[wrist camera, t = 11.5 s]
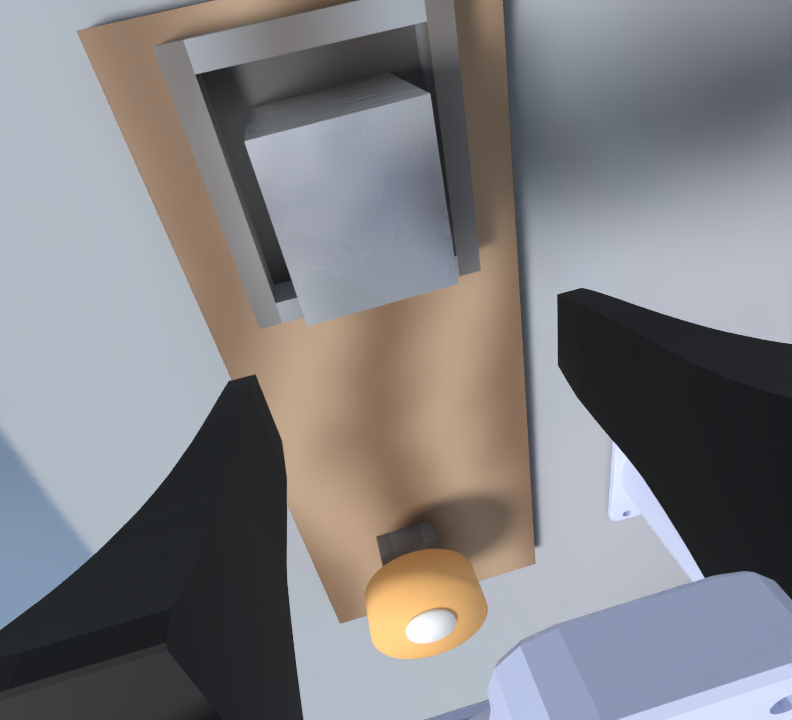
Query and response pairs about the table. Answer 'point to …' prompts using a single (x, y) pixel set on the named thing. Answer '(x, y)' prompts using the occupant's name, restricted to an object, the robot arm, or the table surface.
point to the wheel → (424, 604)
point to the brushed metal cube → (354, 194)
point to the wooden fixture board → (366, 330)
